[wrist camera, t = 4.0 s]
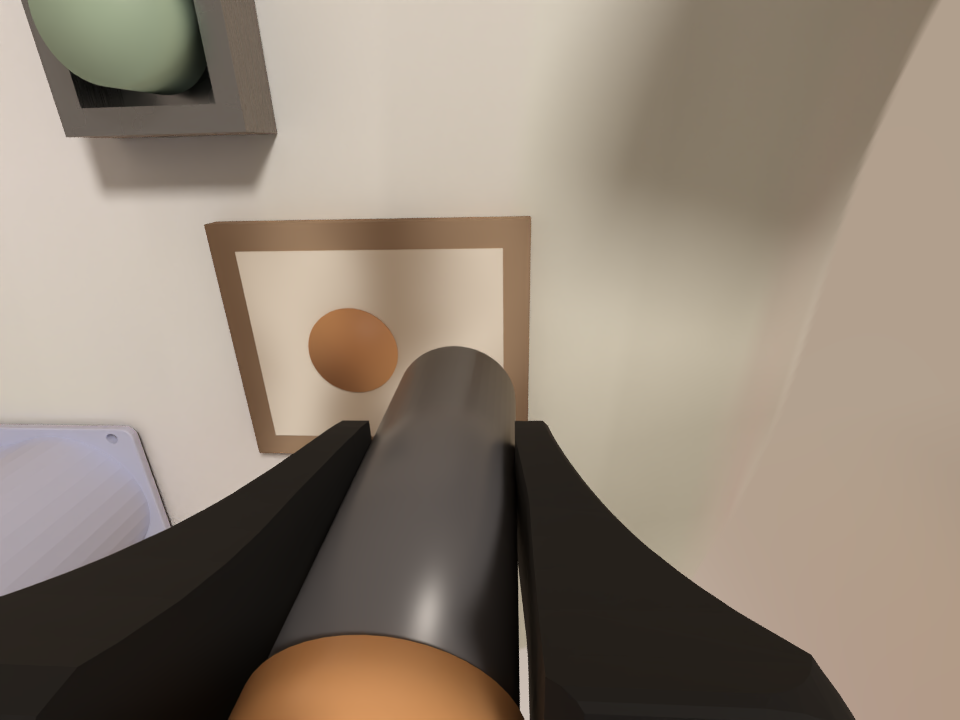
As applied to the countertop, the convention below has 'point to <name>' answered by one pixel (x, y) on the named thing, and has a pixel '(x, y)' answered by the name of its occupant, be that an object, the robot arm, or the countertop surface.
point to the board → (365, 311)
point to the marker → (413, 567)
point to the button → (125, 42)
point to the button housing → (195, 112)
